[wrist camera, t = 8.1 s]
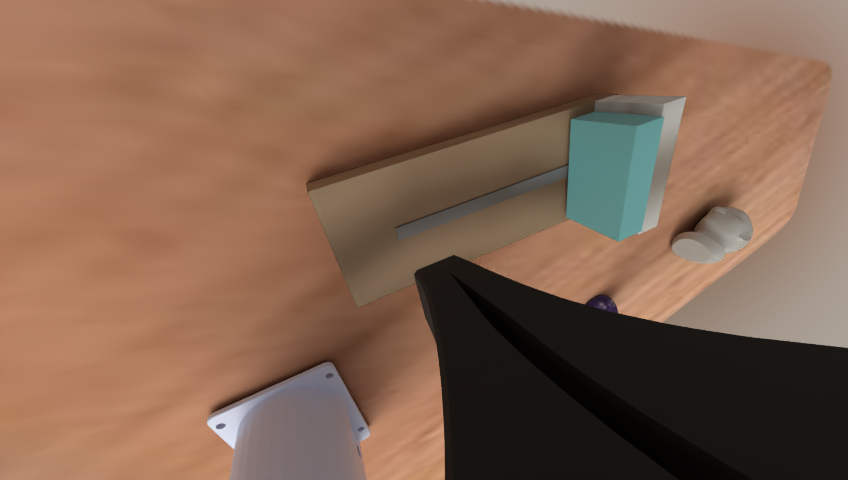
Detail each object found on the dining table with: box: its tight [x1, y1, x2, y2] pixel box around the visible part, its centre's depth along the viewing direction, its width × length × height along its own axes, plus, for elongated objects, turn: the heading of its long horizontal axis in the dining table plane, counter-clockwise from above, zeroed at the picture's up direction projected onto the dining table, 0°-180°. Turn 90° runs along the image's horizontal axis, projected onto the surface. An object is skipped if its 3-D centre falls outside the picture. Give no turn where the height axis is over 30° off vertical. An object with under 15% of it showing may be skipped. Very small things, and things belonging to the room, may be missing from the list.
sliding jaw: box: [566, 111, 664, 242], centre depth 18 cm, size 6×2×4 cm, turn 12°
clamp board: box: [306, 94, 686, 308], centre depth 17 cm, size 8×19×6 cm, turn 102°
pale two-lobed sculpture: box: [671, 206, 753, 263], centre depth 30 cm, size 4×8×5 cm
